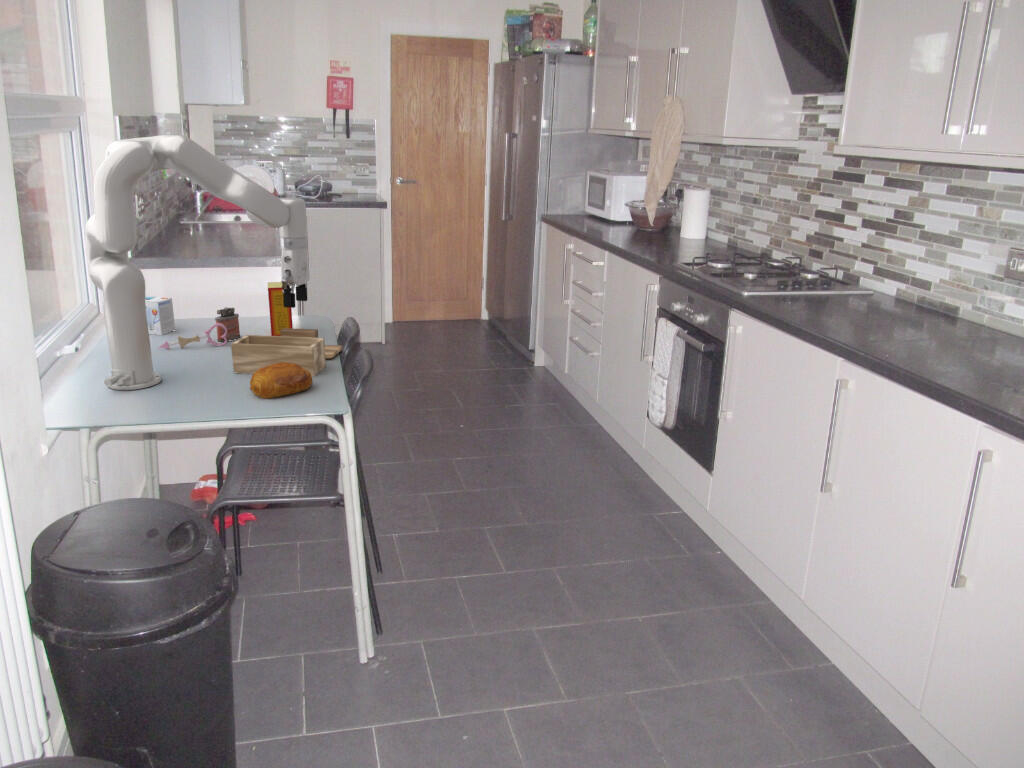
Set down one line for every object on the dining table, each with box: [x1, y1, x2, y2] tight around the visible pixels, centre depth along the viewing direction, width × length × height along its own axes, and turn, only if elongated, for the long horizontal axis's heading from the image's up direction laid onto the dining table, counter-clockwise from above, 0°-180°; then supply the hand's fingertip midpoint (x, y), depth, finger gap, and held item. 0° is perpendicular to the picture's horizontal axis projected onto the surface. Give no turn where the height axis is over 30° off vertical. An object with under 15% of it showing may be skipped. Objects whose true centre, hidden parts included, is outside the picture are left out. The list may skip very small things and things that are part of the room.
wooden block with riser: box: [280, 327, 344, 360], centre depth 236 cm, size 10×22×8 cm, turn 84°
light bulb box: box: [145, 295, 176, 336], centre depth 257 cm, size 11×7×11 cm, turn 73°
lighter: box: [214, 307, 242, 343], centre depth 249 cm, size 8×3×10 cm, turn 149°
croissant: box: [249, 362, 313, 399], centre depth 205 cm, size 14×16×8 cm
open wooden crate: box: [230, 334, 327, 378], centre depth 220 cm, size 10×22×8 cm, turn 84°
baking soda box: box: [267, 281, 294, 336], centre depth 256 cm, size 10×6×16 cm
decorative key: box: [156, 323, 228, 350], centre depth 241 cm, size 7×1×20 cm
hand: (295, 303), depth 232 cm, fingers open, 9 cm apart
